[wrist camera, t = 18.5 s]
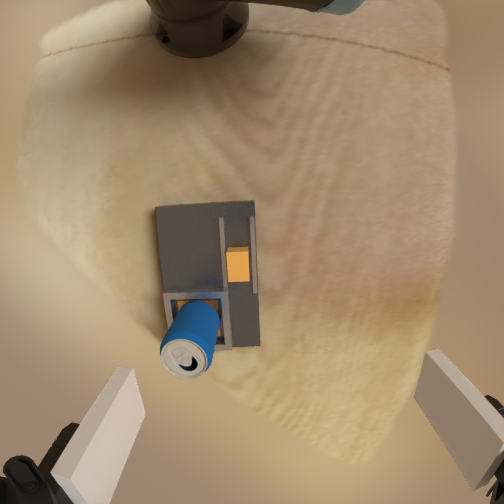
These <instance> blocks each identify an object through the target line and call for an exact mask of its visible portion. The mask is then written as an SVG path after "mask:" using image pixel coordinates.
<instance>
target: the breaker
mask: <svg viewBox="0 0 504 504" xmlns="http://www.w3.org/2000/svg"><path fill="white" fill-rule="evenodd" d="M226 256H227V271H228V282H243V281H249V278H250V272H249V250H248V247H228V249H227V252H226Z"/></svg>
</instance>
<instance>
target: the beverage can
mask: <svg viewBox="0 0 504 504" xmlns="http://www.w3.org/2000/svg"><path fill="white" fill-rule="evenodd" d="M219 326H220V319H219V315H218V313H217V311H216V310H215V309H214V308H213V307H212V306H211V305H209V304H207V303H205V302H202V301H191V302H188V303H186V304H184V305H183V306H182V307H181V308H180V310H179V312H178V313H177V315H176V317H175V319H174V321H173V322H172V324H171V326H170V328H169V330H168V332H167V334H166V335H165V337H164V339H163V341H162V343H161V346H160V355H161V361H162V364H163V366H164V367H165V368H166V370H167V371H168V372H169V373H170V374H172V375H174V376H176V377H178V378H181V379H194V378H197V377H199V376H201V375H202V374H203V373H204V372H205V371H206V370H207V369H208V368H209V366H210V365H211V362H212V358H213V353H214V348H215V344H216V339H217V335H218V330H219Z"/></svg>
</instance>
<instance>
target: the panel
mask: <svg viewBox="0 0 504 504" xmlns="http://www.w3.org/2000/svg"><path fill="white" fill-rule="evenodd" d="M155 210H156V222H157V234H158V244H159V254H160V263H161V272H162V280H163V288H164V292H163V299H164V306H165V313H166V320H167V326H168V330H169V328H170V326H171V324H172V322H173V321H174V319H175V317H176V315H177V313H178V312H179V310H180V308H181V307H182V306H183V305H184V304H186V303H188V302H191V301H202V302H205V303H207V304H209V305H211V306H212V307H213V308H214V309H215V310H216V311H217V313H218V315H219V319H220V326H219V330H218V335H217V339H216V344H215V348H214V350H232V348H233V347H242V346H260V326H259V301H258V276H257V252H256V228H255V205H254V200H250V201H229V202H211V203H195V204H180V205H167V206H158V207H155ZM228 247H248V250H249V272H250V278H249V281H243V282H228V271H227V256H226V252H227V249H228Z"/></svg>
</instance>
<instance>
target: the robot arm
mask: <svg viewBox="0 0 504 504" xmlns="http://www.w3.org/2000/svg"><path fill="white" fill-rule="evenodd" d="M146 1H147V3H148V5H149V6H150V8H151V28H152V32H153V34H154V36H155V38H156V39H157V41H158V42H159V43H160V45H161V46H162V47H163V48H164V49H166V50H167V51H169V52H171V53H173V54H175V55H178V56H182V57H189V58H199V57H206V56H210V55H214V54H217V53H219V52H222V51H224V50H226V49H227V48H229V47H230V46H232V45H233V44H234V43H236V42H237V41H238V40H239V39H240V37H241V36H242V35H243V34H244V32H245V30H246V28H247V26H248V22H249V6H248V3H259V4H269V5H278V6H285V7H292V8H299V9H305V10H308V11H310V12H314V13H315V12H317V13H318V12H324V13H330V14H336V15H343V14H349V13H351V12H353V11H355V10H356V9H357V8H358V7H359V6H360V5H361V4H362V3H363V2H364V1H365V0H146ZM414 398H415V400H416V402H417V403H418V405H419V406H420V408H421V409H422V411H423V412H424V414H425V415H426V417H427V418H428V420H429V421H430V423H431V425H432V426H433V428H434V429H435V431H436V432H437V434H438V435H439V437H440V439H441V440H442V442H443V443H444V445H445V446H446V448H447V450H448V451H449V453H450V454H451V456H452V458H453V459H454V461H455V463H456V464H457V466H458V467H459V469H460V471H461V472H462V474H463V476H464V477H465V479H466V481H467V482H468V484H469V486H470V487H471V489H472V491H474V490H476V489H478V488H481V487H483V486H485V485H486V484H488V483H489V481H490V480H491V478H492V477H493V476H494V475H495V476H496V478H497V480H496V482H495V483H494V485H493V486H492V487H491V489H490V490H489V491H488V493H487V495H486V496H489V495H490V493H491V492H492V491H493V492H492V496H491V501H490V504H504V407H503V406H502V405H501V403H500V402H499V401H498V400H496V399H494V398H493V397H491V396H489V395H487V396H483V395H482V394H481V393H480V392H479V391H478V390H477V388H476V387H475V386H474V385H473V384H472V383H471V382H470V381H469V380H468V379H467V378H466V377H465V376H464V375H463V374H462V373H461V372H460V371H459V370H458V368H456V366H454V364H453V363H451V361H450V360H449V359H448V358H447V357H446V356H445V355H444V354H443V353H442V352H441V351H440V350H439V349H436V350H431V351H426V352H425V356H424V360H423V364H422V369H421V373H420V377H419V380H418V384H417V388H416V392H415V395H414ZM145 414H146V413H145V410H144V406H143V403H142V400H141V396H140V392H139V389H138V385H137V381H136V377H135V374H134V370H133V368H128V367H117V368H116V370H115V371H114V373H113V374H112V376H111V378H110V379H109V380H108V382H107V384H106V385H105V387H104V388H103V390H102V391H101V393H100V394H99V396H98V397H97V399H96V400H95V402H94V403H93V405H92V406H91V408H90V410H89V411H88V413H87V414H86V416H85V417H84V419H83V421H82V422H81V424H77V423H70V424H69V425H68V426H66V427H65V428H64V429H62V431H61V432H60V434H59V436H58V437H57V440H55V441H54V443H53V444H52V447H50V449H49V450H48V452H47V454H46V455H45V457H44V458H43V460H42V461H41V463H40V464H39V466H38V467H37V466H36V464H35V463H34V461H33V460H32V459H31V458H29V457H27V456H23V455H22V456H15V457H12V458H10V459H9V460H8V461H7V462H6V463H5V465H4V467H3V473H4V474H5V476H6V477H7V478H5V477H1V476H0V504H109V503H110V501H111V498H112V495H113V493H114V490H115V488H116V485H117V483H118V480H119V478H120V475H121V472H122V470H123V467H124V465H125V463H126V460H127V458H128V455H129V453H130V450H131V448H132V446H133V443H134V441H135V438H136V436H137V433H138V431H139V429H140V426H141V424H142V422H143V419H144V417H145Z"/></svg>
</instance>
